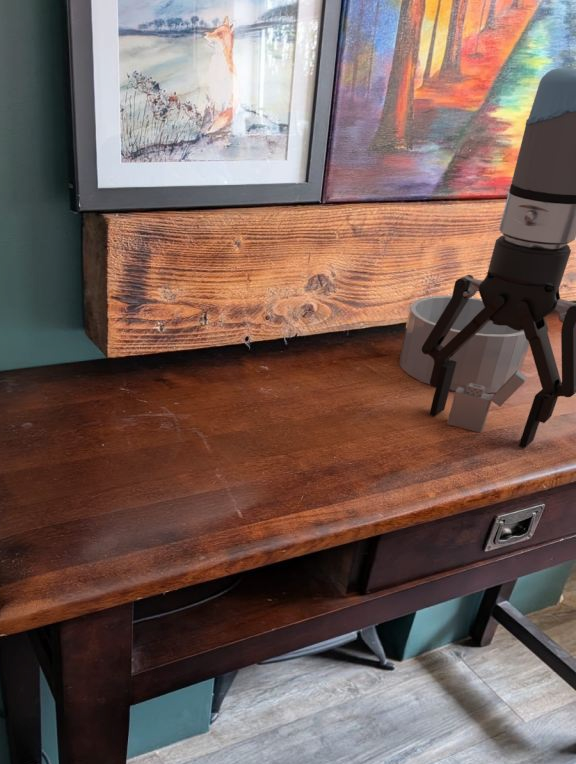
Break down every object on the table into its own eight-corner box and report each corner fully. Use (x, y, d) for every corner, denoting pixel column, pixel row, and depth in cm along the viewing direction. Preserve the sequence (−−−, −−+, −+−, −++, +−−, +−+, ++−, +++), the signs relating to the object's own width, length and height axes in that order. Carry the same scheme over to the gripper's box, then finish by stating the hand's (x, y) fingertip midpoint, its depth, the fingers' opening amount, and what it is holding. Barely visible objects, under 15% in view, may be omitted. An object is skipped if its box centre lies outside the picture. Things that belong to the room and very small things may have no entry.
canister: (535, 370, 107) (552, 316, 103) (490, 404, 97) (507, 346, 92) (430, 339, 116) (442, 288, 111) (378, 368, 105) (389, 312, 101)
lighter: (446, 423, 91) (462, 362, 87) (450, 418, 92) (466, 357, 88) (506, 439, 88) (526, 376, 84) (509, 433, 90) (528, 371, 85)
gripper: (417, 224, 82) (380, 406, 94) (643, 270, 70) (566, 473, 82) (447, 214, 87) (407, 389, 99) (662, 256, 74) (587, 449, 87)
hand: (479, 427), depth 90 cm, fingers open, 11 cm apart
